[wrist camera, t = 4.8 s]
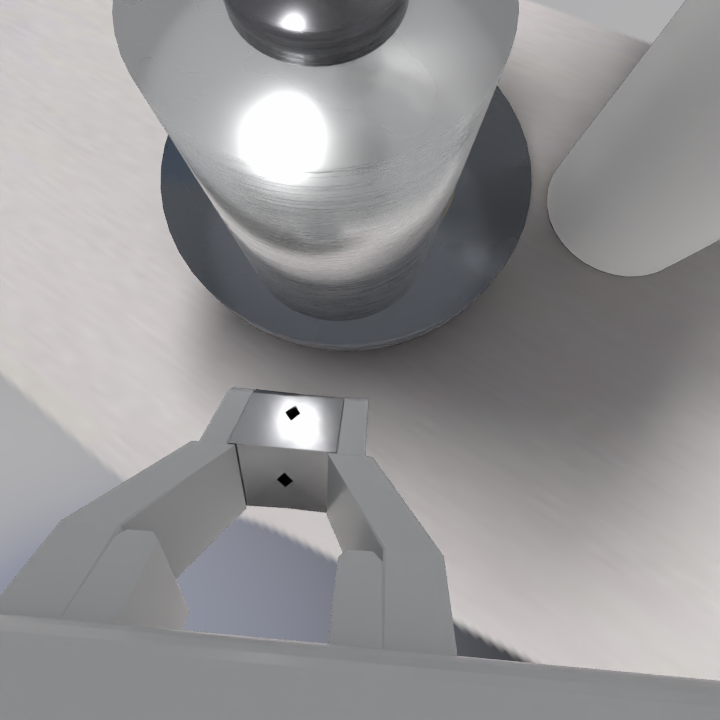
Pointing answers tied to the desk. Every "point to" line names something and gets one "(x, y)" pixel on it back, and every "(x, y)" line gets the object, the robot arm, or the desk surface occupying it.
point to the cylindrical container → (649, 157)
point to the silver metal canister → (323, 127)
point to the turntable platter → (437, 278)
